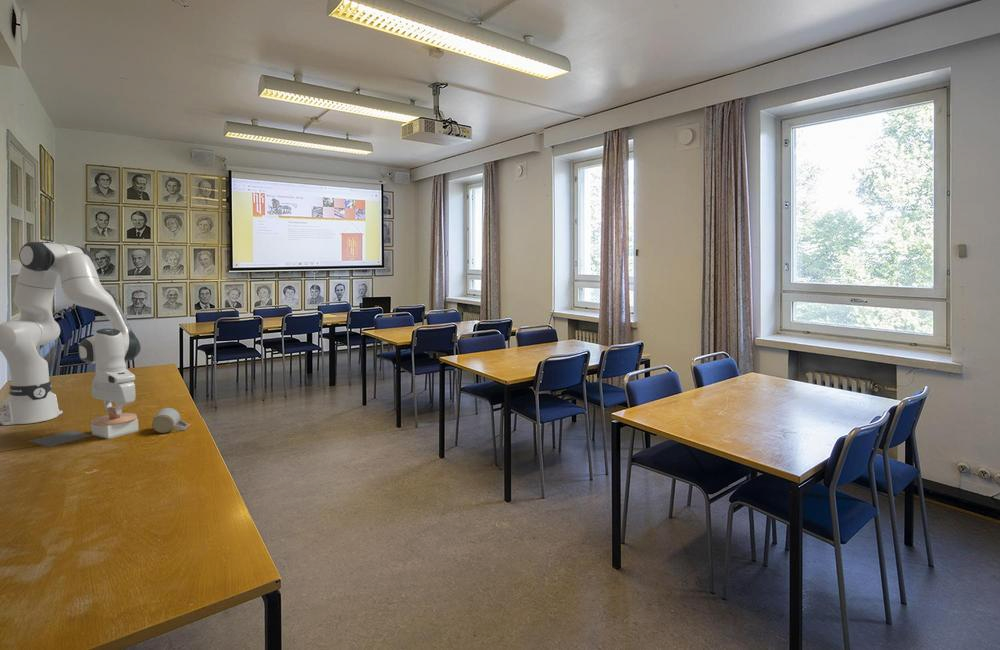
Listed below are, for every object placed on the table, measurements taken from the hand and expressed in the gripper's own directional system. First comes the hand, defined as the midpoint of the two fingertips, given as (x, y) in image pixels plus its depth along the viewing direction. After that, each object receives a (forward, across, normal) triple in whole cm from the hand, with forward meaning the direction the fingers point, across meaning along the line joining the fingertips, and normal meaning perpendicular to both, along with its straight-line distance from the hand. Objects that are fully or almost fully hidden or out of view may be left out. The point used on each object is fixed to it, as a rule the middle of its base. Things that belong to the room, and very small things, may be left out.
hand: (114, 412), depth 189 cm
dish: (+8, 0, 0) cm, 8 cm away
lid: (+3, 0, 0) cm, 3 cm away
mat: (+8, -10, -12) cm, 17 cm away
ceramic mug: (+8, +13, +12) cm, 19 cm away
